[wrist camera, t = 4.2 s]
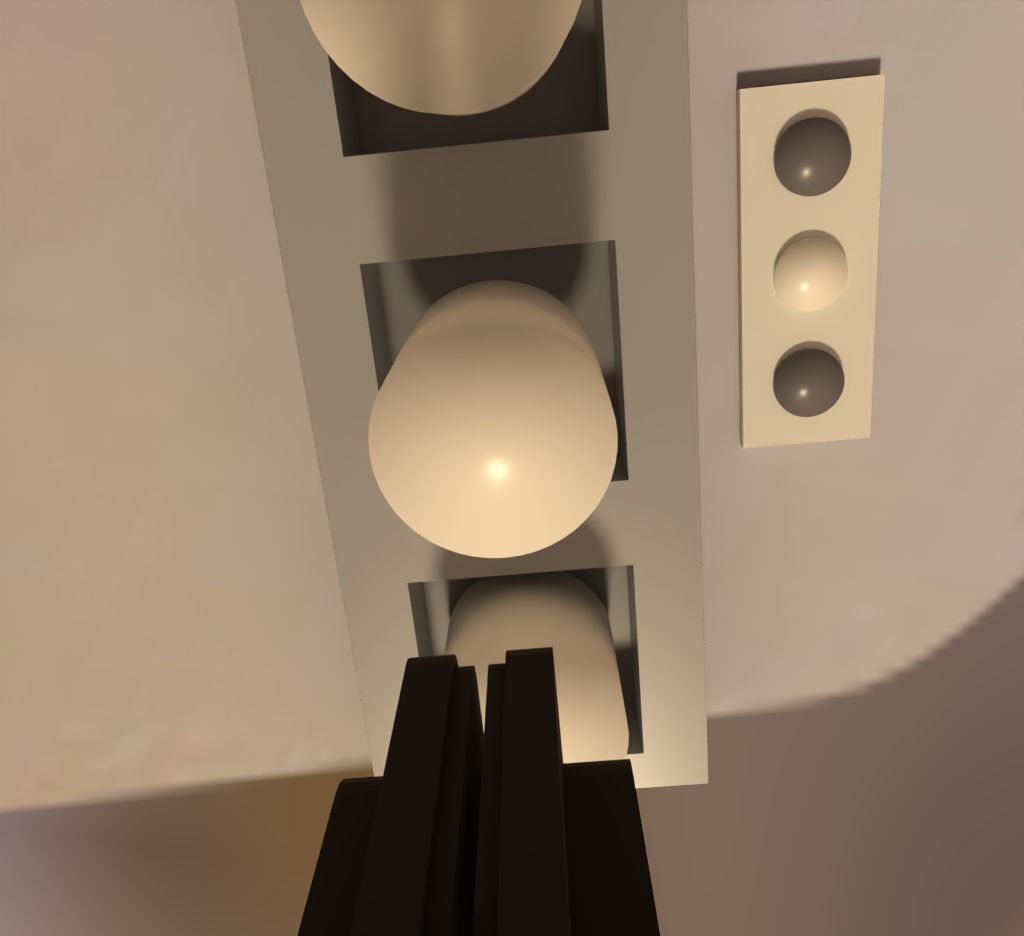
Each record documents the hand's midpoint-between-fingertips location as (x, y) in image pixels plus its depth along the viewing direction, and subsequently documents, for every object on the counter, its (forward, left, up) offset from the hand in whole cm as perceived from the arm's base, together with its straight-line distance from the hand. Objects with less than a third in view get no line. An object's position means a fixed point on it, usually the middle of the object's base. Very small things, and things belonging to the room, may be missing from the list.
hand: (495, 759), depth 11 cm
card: (-3, +7, -13) cm, 15 cm away
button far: (+5, 0, -11) cm, 12 cm away
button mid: (-2, 0, -9) cm, 9 cm away
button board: (-2, 0, -13) cm, 13 cm away
